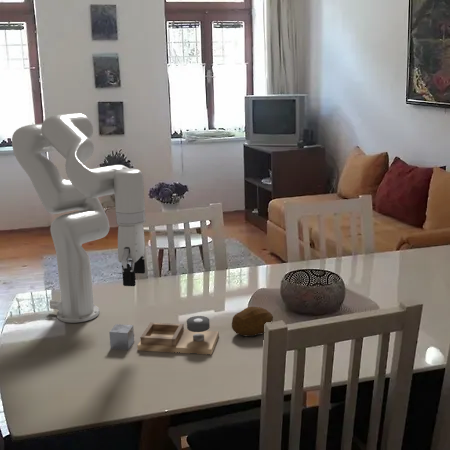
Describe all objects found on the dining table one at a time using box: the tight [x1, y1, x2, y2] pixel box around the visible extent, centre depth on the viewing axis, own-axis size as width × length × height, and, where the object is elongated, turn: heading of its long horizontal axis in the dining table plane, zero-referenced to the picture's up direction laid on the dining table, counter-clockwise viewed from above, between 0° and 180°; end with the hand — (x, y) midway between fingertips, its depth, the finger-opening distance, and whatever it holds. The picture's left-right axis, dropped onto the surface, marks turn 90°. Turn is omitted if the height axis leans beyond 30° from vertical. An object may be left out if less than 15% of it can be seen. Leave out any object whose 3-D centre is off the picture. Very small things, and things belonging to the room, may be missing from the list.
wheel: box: [186, 315, 211, 332], centre depth 164 cm, size 6×6×2 cm
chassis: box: [136, 322, 220, 355], centre depth 166 cm, size 20×11×4 cm, turn 81°
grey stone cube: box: [108, 323, 135, 351], centre depth 166 cm, size 5×5×5 cm
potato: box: [231, 306, 274, 337], centre depth 171 cm, size 8×12×8 cm, turn 120°
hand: (134, 279), depth 164 cm, fingers open, 9 cm apart
